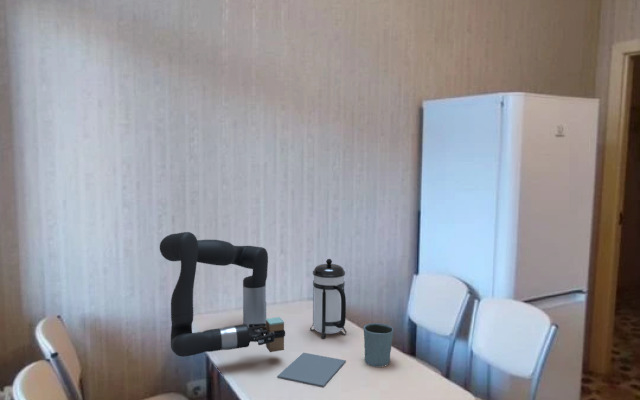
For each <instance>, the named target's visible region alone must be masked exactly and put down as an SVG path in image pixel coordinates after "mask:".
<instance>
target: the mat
mask: <svg viewBox="0 0 640 400" xmlns="http://www.w3.org/2000/svg"><path fill="white" fill-rule="evenodd" d="M345 364H346V360H345V359H340V358H337V357H335V358H334V357H330V356H323V355H319V354H313V353H308V352H303V353H301V354H300V355H299V356H298V357H296V358H295V360H294V361H292V362H291V363H290V364H289V365H288V366H286V367H285V368H284V369H283V370H282V371H281V372H280V373H279V374H278V375H277V376H276V377H277V379H281V380H287V381H292V382H295V383H296V382H297V383H300V384H306V385H309V386H315V387H321V388H325V387H326V385H328V383H329V382H330V381H331V379H332V378H333V377H335V376H336V373H338V372H339V370H341V368H342V367H343V366H344V365H345Z"/></svg>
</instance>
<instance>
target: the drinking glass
mask: <svg viewBox="0 0 640 400" xmlns="http://www.w3.org/2000/svg"><path fill="white" fill-rule="evenodd" d="M363 336H364V337H363V342H364V345H363V346H364V362H365V364H366V365H368V366H370V367H373V368H374V367H375V368H376V367H377V368H378V367H379V368H382V366H383V367H386V366H388V365H389V364H390V362H391V361H390V360H391V351H392V343H393V336H394V328H393V327H392V326H390V325H389V324H384V323H377V322H375V323H373V322H372V323H367V324H366V325H364V326H363ZM387 364H388V365H387ZM385 365H386V366H385Z"/></svg>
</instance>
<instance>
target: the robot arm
mask: <svg viewBox="0 0 640 400" xmlns="http://www.w3.org/2000/svg"><path fill="white" fill-rule="evenodd" d="M159 253H161V256H162V257H163V258H164V259H165V260H167V261H169V262H180V272H179V277H178V280H177V282H176V284H175V287H174V289H173V291H172V294H171V298H170V322H171V329H170V348H171V351H172V352H173V353H174V354H175V356H178V357H181V358H182V357H183V358H184V357H189V356H196V355H198V354H203V353H209V352H218V351H229V350H236V349H243V348H248V347H249V346H250V343H257V345H258V346H263V345H266V344H267V343H271V342H274V339H275V338H280V337H284V338H285V336H286V330H285V329H284V330H280V331H271V332H270V331H267V330H266V319H267V298H266V297H267V296H266V295H267V294H266V292H267V289H266V287H267V286H266V285H267V278H268V264H269V256H268V251H267V249H266V248H265V247H262V246H261V247H260V246H255V245H234V244H232V243H231V242H228V241H225V240H219V239H198V238H197V236H196V235H195V234H194V233H192V232H190V231H187V232H186V231H184V232H179V233H178V232H177V233H172V234H169V235H167V236H165V237H164V238H162V240H161V241H160V243H159ZM197 263H200V264H204V265H205V264H207V265H212V266H219V267H220V266H221V267H223V266H229V265H233V266H234V265H235V266H238V267H241V268H244V269H247V270H248V269H249V270H252V274H251V275H248V276H246V277H244V278H243V280H242V311H243V312H242V324H236V325H228V326H224V327H219V328H212V329H206V330H203V331H200V332H199V331H198V332H193V321H194V286H195V279H196V271H197Z"/></svg>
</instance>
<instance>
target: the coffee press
mask: <svg viewBox="0 0 640 400" xmlns="http://www.w3.org/2000/svg"><path fill="white" fill-rule="evenodd" d="M312 275H313V280H312V287H313V290H312V291H313V293H312V295H313V297H312V298H313V299H312V325H311V327H310V328H309V330H310V331H311V332H313V331H316V332H318V333H320V334H321V335H320V339H322V340H326V336H327V334H328V335H330V334H331V335H332V334H336V333H340V334H342V336H345V335H347V330H346V329H345V324H346V318H347V317H346V316H347V315H346V314H347V313H346V310H347V305H346V304H347V302H346V301H347V298H346V294H345V285H346V284H345V283H346V282H345V276H346V271H345V270H344V268H343V267H342V266H341V265H339V264H336V263H335V264H334V263H333V260H332V259H331V258H327V259H326V260H325V263H322V264H317V266H315V267H314V269H313V270H312ZM312 327H313V328H312ZM342 330H343V331H342Z"/></svg>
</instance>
